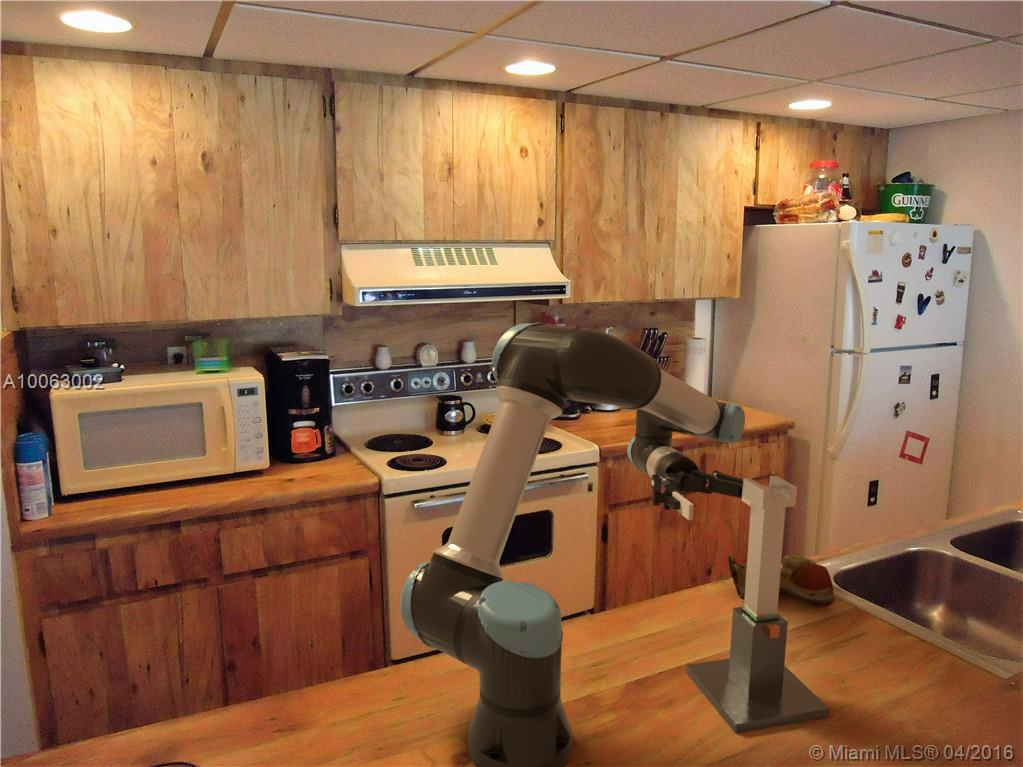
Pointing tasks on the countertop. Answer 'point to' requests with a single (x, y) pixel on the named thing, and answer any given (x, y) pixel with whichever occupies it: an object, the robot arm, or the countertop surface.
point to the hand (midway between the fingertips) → (728, 509)
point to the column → (765, 545)
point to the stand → (756, 679)
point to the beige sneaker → (794, 579)
